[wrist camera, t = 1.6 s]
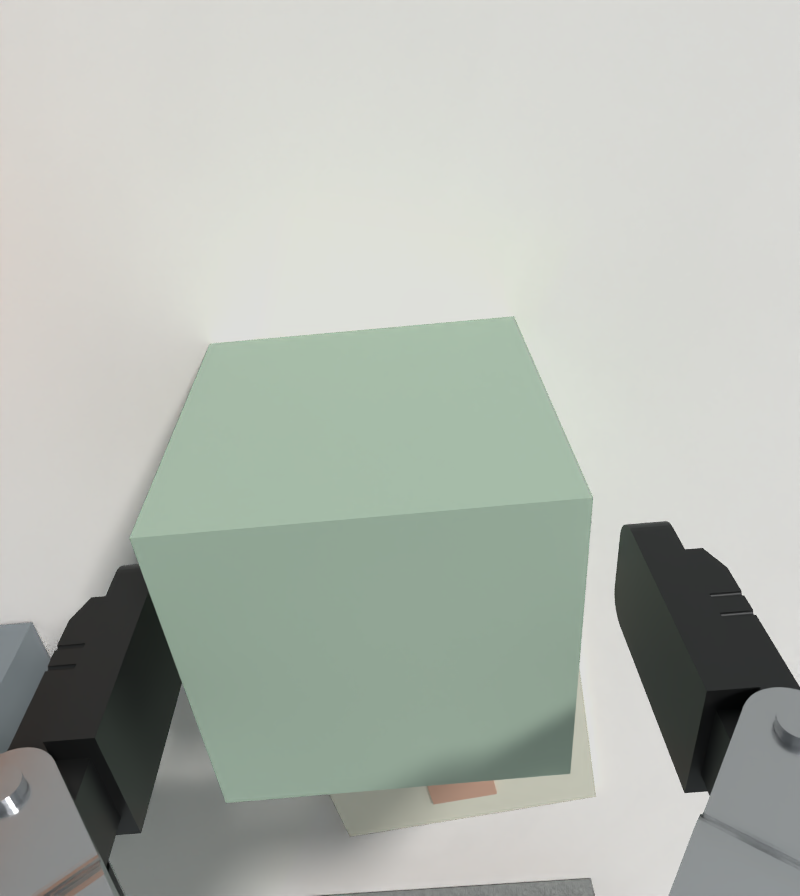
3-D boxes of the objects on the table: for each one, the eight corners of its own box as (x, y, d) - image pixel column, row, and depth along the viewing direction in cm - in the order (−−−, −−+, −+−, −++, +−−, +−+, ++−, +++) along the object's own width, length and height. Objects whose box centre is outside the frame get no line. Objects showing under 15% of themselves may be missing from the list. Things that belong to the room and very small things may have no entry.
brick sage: (210, 341, 14) (129, 538, 9) (513, 314, 14) (592, 497, 9) (265, 568, 18) (226, 802, 13) (511, 546, 18) (570, 774, 13)
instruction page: (249, 620, 19) (248, 629, 18) (564, 560, 18) (567, 569, 18) (349, 830, 24) (349, 840, 24) (594, 790, 23) (596, 799, 23)
